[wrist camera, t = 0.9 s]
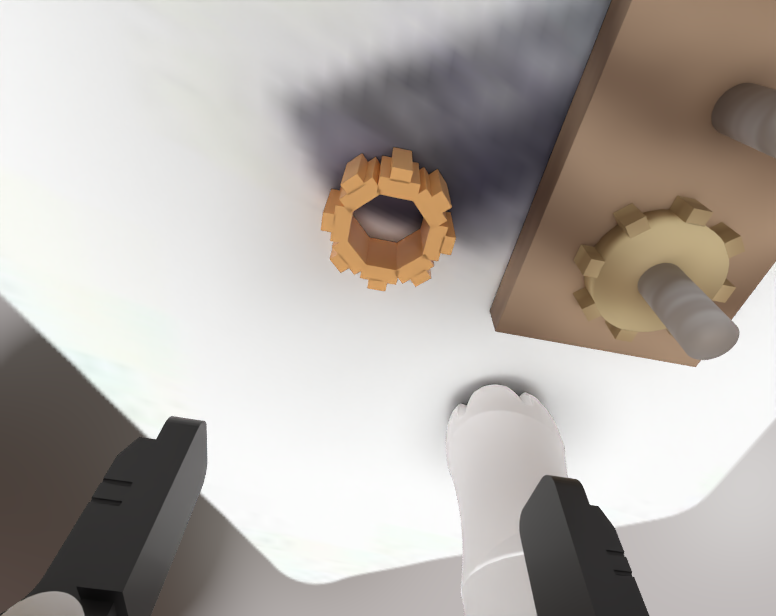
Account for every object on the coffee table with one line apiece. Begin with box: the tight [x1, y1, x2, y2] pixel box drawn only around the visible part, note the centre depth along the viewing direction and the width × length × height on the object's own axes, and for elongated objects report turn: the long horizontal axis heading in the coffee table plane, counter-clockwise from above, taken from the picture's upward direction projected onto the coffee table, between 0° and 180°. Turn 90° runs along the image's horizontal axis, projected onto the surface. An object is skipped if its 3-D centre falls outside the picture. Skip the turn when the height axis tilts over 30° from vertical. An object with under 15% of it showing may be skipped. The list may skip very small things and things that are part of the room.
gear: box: [321, 147, 456, 291], centre depth 23 cm, size 6×6×3 cm
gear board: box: [490, 0, 776, 367], centre depth 18 cm, size 26×12×8 cm, turn 169°
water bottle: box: [446, 384, 568, 616], centre depth 22 cm, size 7×7×25 cm
